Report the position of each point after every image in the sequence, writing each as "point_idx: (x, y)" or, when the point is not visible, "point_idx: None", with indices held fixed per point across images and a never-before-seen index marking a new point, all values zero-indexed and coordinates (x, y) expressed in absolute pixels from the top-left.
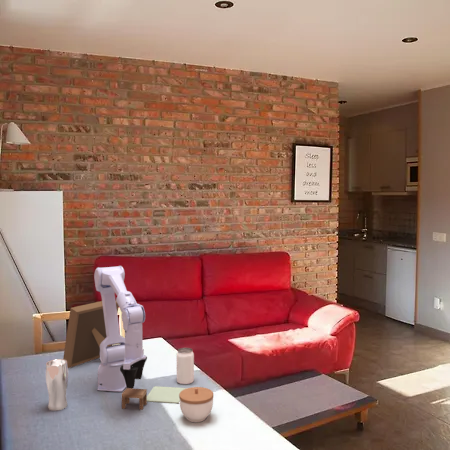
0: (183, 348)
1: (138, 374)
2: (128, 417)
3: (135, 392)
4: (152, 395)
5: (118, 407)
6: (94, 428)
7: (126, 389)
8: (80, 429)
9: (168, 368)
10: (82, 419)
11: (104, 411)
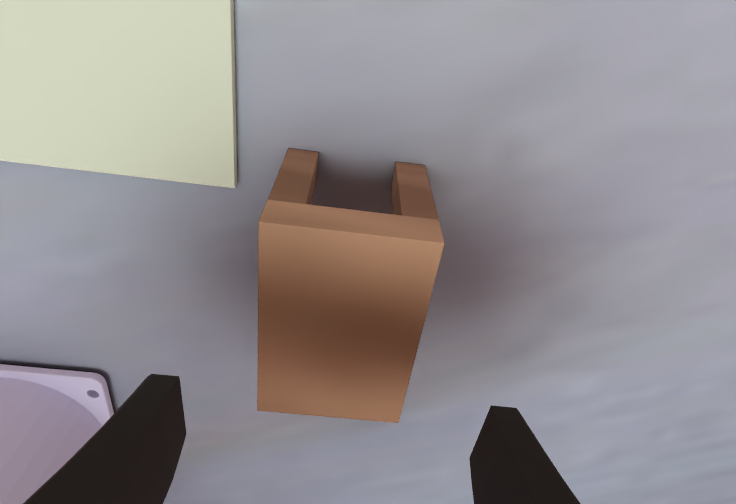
0: None
1: (152, 463)
2: (555, 250)
3: (365, 322)
4: (100, 122)
5: None
6: (666, 404)
7: (291, 405)
8: (652, 455)
9: None
10: None
11: (430, 403)
